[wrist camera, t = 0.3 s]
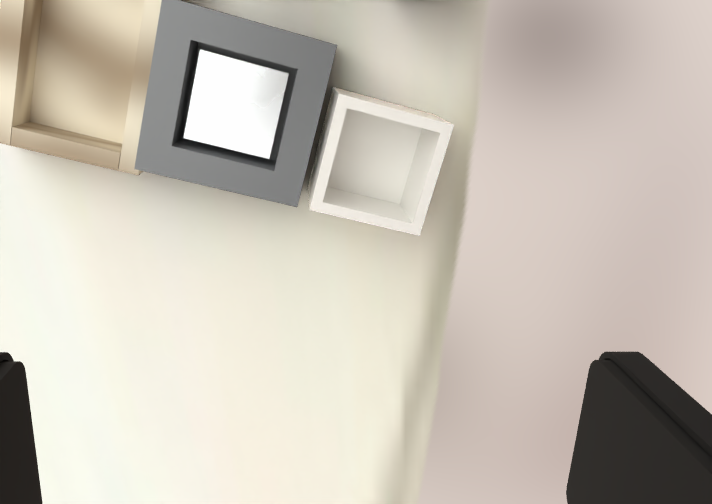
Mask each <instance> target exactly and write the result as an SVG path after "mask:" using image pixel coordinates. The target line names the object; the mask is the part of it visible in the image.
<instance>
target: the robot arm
mask: <svg viewBox="0 0 712 504" xmlns="http://www.w3.org/2000/svg"><path fill="white" fill-rule="evenodd" d="M566 495H567V502H568V504H712V415H711V414H710V413H709V412H708V411H707V410H706V409H705V408H703V407H702V406H701V405H700V404H699V403H698V402H697V401H695V400H694V399H693V398H692V397H691V396H690V395H689V394H687V393H686V392H685V391H684V390H683V389H682V388H681V387H679V386H678V385H677V384H676V383H675V382H674V381H672V380H671V379H670V378H669V377H668V376H667V375H666V374H664V373H663V372H662V371H661V370H660V369H659V368H658V367H657V366H655V365H654V364H653V363H652V362H651V361H650V360H649V359H647V358H646V357H645V356H644V355H643V354H641V353H639V352H604V353H603V354H602V355H601V356H600V358H599V360H594V361H593V362H592V363H591V365H590V368H589V373H588V378H587V383H586V389H585V394H584V399H583V404H582V410H581V415H580V420H579V426H578V431H577V436H576V441H575V447H574V452H573V457H572V463H571V468H570V473H569V478H568V483H567V491H566ZM0 504H42V496H41V489H40V481H39V473H38V465H37V457H36V450H35V442H34V434H33V426H32V418H31V411H30V403H29V395H28V387H27V379H26V372H25V367H24V365H23V363H21V362H14V361H13V358H12V356H11V355H10V354H9V353H8V352H0Z"/></svg>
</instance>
